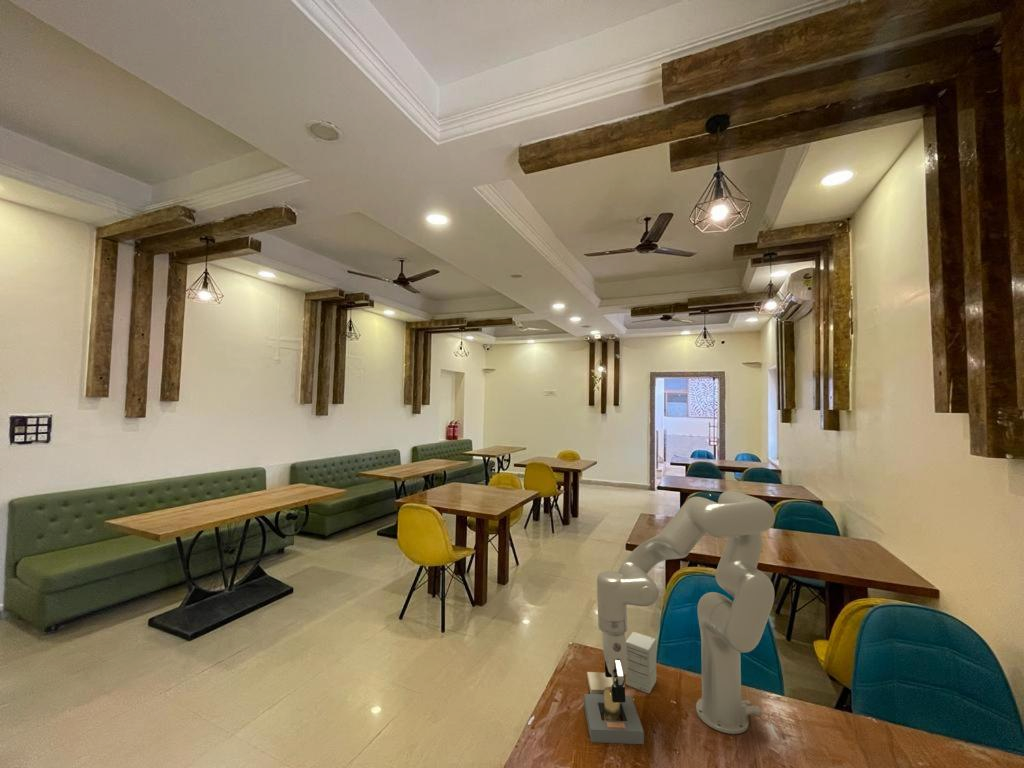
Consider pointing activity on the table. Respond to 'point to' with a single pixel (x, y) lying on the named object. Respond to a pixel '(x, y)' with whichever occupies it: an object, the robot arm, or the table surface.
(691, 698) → the table surface
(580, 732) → the table surface
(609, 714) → the brass peg
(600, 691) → the beige square plate
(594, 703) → the hole plate
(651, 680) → the supplement box
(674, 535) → the robot arm
